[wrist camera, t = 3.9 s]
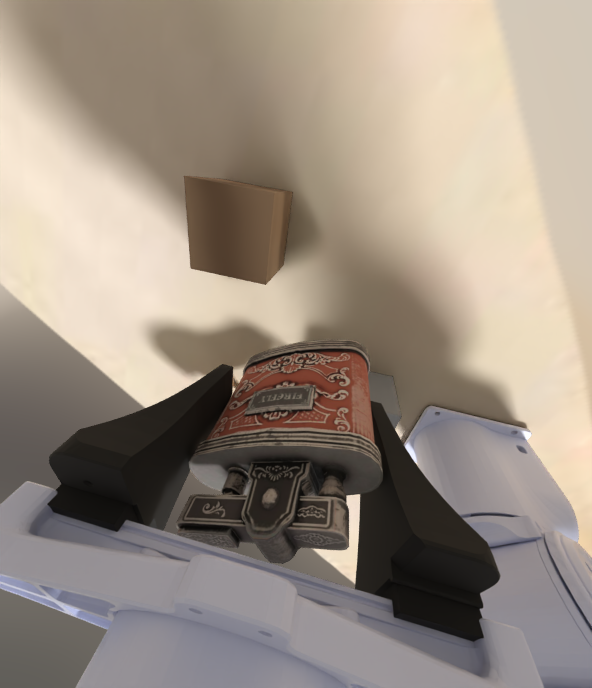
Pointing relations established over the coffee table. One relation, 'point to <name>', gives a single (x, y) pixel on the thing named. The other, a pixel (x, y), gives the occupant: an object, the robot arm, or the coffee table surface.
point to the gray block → (385, 395)
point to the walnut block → (236, 228)
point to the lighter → (288, 453)
